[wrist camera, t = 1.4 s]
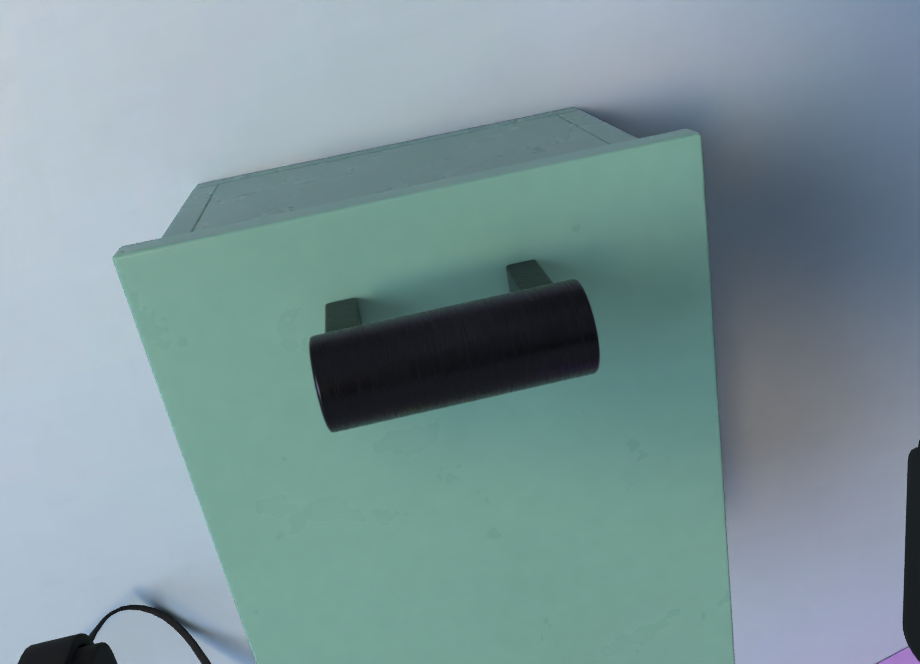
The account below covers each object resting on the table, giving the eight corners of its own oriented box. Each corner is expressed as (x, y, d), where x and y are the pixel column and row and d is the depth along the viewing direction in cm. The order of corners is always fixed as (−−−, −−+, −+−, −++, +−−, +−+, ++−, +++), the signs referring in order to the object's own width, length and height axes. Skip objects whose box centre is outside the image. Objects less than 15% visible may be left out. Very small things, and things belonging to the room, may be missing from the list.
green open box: (196, 183, 27) (131, 280, 18) (574, 106, 28) (689, 162, 19) (313, 569, 34) (307, 783, 25) (621, 496, 34) (725, 677, 25)
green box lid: (119, 246, 18) (47, 333, 14) (688, 127, 19) (803, 172, 14) (307, 784, 25) (303, 967, 20) (726, 678, 25) (814, 831, 21)
